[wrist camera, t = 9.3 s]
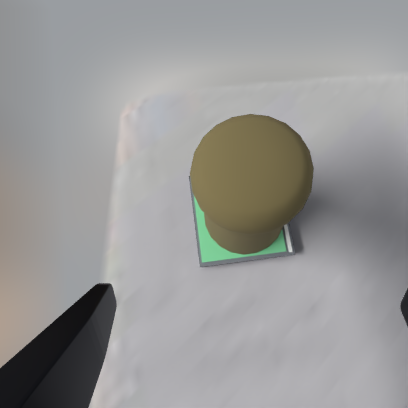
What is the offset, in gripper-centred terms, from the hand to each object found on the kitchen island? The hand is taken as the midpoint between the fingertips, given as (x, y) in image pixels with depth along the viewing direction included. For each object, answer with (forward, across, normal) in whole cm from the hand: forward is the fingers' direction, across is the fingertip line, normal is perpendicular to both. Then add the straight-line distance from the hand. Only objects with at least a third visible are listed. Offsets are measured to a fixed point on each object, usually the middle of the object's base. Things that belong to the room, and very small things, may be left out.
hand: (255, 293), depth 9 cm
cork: (+12, -1, +5) cm, 13 cm away
